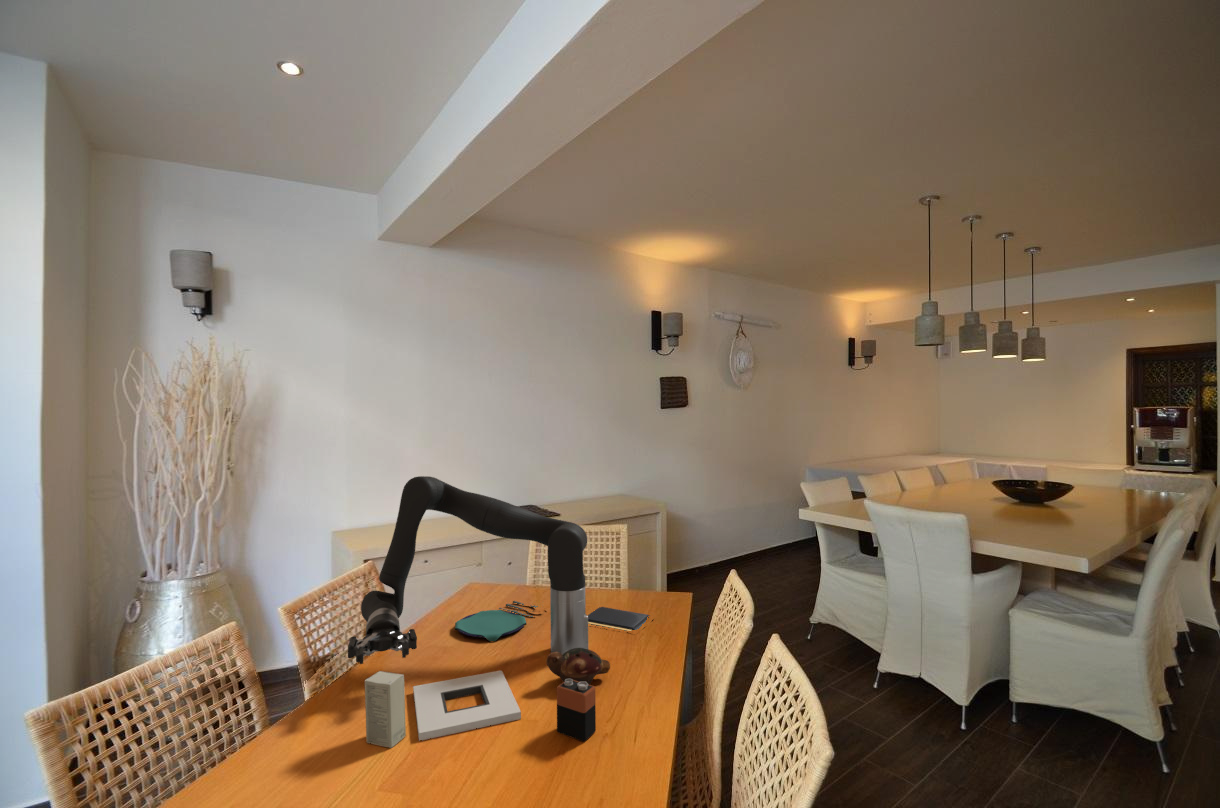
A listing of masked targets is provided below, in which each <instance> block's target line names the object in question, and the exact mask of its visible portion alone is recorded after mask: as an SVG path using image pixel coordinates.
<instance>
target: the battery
mask: <svg viewBox="0 0 1220 808" xmlns="http://www.w3.org/2000/svg"><path fill="white" fill-rule="evenodd" d="M596 716H597V715H596V686H594V685H588V683H587V682H578V681H575V680H572V679H565V682H563V681H562V683H560V684H559V685H558V686H557V687H556V731H557V733H559V734H561V735H563V736H567V737H570V738H572V739H576V740H578V741H581V742H586V741H587V740H588V739H589V738H590V737H591V736H592V735H593V734H595V732H596V730H597V729H596V727H597V726H596V721H597V720H596V718H597V717H596Z"/></svg>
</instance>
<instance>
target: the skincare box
mask: <svg viewBox="0 0 1220 808" xmlns="http://www.w3.org/2000/svg"><path fill="white" fill-rule="evenodd" d="M405 698H406V695H405V675H404V673H403V674H401V673H397V672H389V671H383V670H380V671H378V672H376V673H374V674H372V675H371V676H369V677H368V678H366V679H365V680H364V699H365V700H364V704H365V729H366V730H365V732H366V735H365V736H366V737H365V738H366V740H365V741H366V743H367V744H370V743H371V745H375V746H380V747H385V748H390V749H391V748H394V746H396V745H397V744H398V743H399V742H401V740H403V739H404V738H405V737H406V736H407V731H406V728H407V727H406V699H405Z"/></svg>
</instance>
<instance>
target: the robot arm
mask: <svg viewBox="0 0 1220 808" xmlns="http://www.w3.org/2000/svg"><path fill="white" fill-rule="evenodd" d="M426 511H436V512H439V513H444V514H447V515H452V516H454V517H456V518H458V519H460V520H462V521H463V522H464V523H466V524H468V525H470V526H471V527H472V528H474V529H476V530H479V531H481V532H483V533H487V534H489V535H493V536H496V537H499V538H503V539H504V538H505V539H509V540H510V539H511V540H520V541H521V540H525V541H531V542H536V543H539V544H540V545H541V544H542V545H544V546H547V568H548V569H547V572H548V573H547V574H548V578H549V581H550V582H549V583H550V584H549V586H550V589H549V590H550V592H549V594H550V596H549V597H550V606H549V607H550V654H551V653H552V652H560V653H561V654H562V655H563V654H564V653H565V652H567V651H568V650H570V649H574V648H585V649H589V626H588V616H587V615H588V614H586V576H585V573H584V556H583V555H584V551H585V549H586V546H587V545H588V535H587V532H586V531H585V530H584V529H583V527H582V526H581V525H579V524H577V523H575V522H572V521H566V520H561V519H557V518H553V517H547V516H545V515H541V514H539V513H536V512H533V511H531V510H528V509H526V508H522V507H521V506H517V505H514V504H512V503H510V502H506V501H503V500H500V499H498V498H495V497H491V496H488V495H484V494H480V493H475V492H471V491H466V490H463V489H461V488H458V487H456V486H453V485H451V484H448V482H445V481H443V480H441V479H438V478H437V477H435V476H428V475H427V476H426V475H425V476H424V475H422V476H421V475H420V476H414V477H411V478H410V479H409V480H407V482H406V483H405V484H404V486H403V489H402V493H401V497H400V501H399V508H398V514H397V518H396V520H395V521H396V522H395V525H394V526H395V527H394V531H393V534H392V538H391V542H390V544H389V548H388V549H387V554H386V555H385V556H386V557H385V560H384V562H383V564H382V567H381V570H380V572H379V577H378V580H379V581H380V583H382V584H383V585H385V586H387V587H389V588H391V589H392V590H393V591H394V593H392V592H386V591H381V590H371V591H369V592H367V593H366V594H365V596H364V597H363V598H362V601H361V607H360V612H361V615H362V617H363V619H364V620H365V622H366V625H365V626H366V627H365V636H364V637H363V638H357V636H355V635H354V636H353V635H352V636H351V637H350V638H349V642H348V645H347V658H348V659H353V658H354V657H355V662H356V663H359V665H362V664H364V657H365V656H370V655H371V654H373V653H375V652H386V651H388V650H392V651H395V652H401V657H402V659H406V658H407V657H406V656H409V655H410V649H411V650H416V649H418V648H417V647H418V646H417V645H418V643H417V642H418V641H417V639H418V636H417V633H416V630H415V628H410V629H408V631H407V632H406V633H403V632H402V631H401V628H400V619H399V618H400V617H401V616H402V614H403V611H404V599H405V598H404V596H405V590H406V589H405V588H406V583H407V579H408V576H409V573H410V571H411V568H412V565H413V562H414V559H415V554H416V545H417V544H416V543H417V542H416V541H417V536H418V531H419V527H420V524H421V522H422V519H423V518H424V515H425V513H426Z"/></svg>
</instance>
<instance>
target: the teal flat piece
mask: <svg viewBox="0 0 1220 808" xmlns="http://www.w3.org/2000/svg"><path fill="white" fill-rule="evenodd" d="M513 603H517V604H522V605H524V604H525V603H523V602H519V601H516V600H513V601H512V604H510V603H506V604H505V607H507V606H509V608H513V607H514V608H513V609H512V610H511V609H506V608H502V607H499V608H498V609H490V610H489V609H488V610H481V611H478V612H476V613H472V614H469V615H466V616H464V617H462V618H461V619H459V620H456V622H455V623H454V630H455V631H458V632H459V633H460V634H463V635H465V636H468V637H474V638H483V639H484V638H486V640H488V641H489V642H490V641H494V642H495V641H497V640H499V638H501V637H502V636H508V635H511V634H513V633H515V632H518V631H519V630H521V629H523V628H524V626H526V625H527V621H526V616H530V615H531V614H533V613H531V612H530V613H531V614H527V613H528V611H527V612H526V613H523V612H519V610H520V609H523V610H522V611H524V609H525V608H524V607H521V606H518V605H517V604H516V605H515V604H513ZM530 606H531V607H535V608H536V607H538V605H536V604H534V605H530ZM517 608H518V609H517ZM499 609H503V610H499ZM515 609H517V610H515ZM506 610H507V611H506ZM510 611H511V612H510ZM512 612H514V613H512ZM515 613H518V614H515ZM522 613H523V614H522ZM519 614H521V615H519ZM526 614H527V615H526ZM522 615H526V616H522ZM533 616H534V615H531V616H530V617H533ZM530 617H529V618H530Z"/></svg>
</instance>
